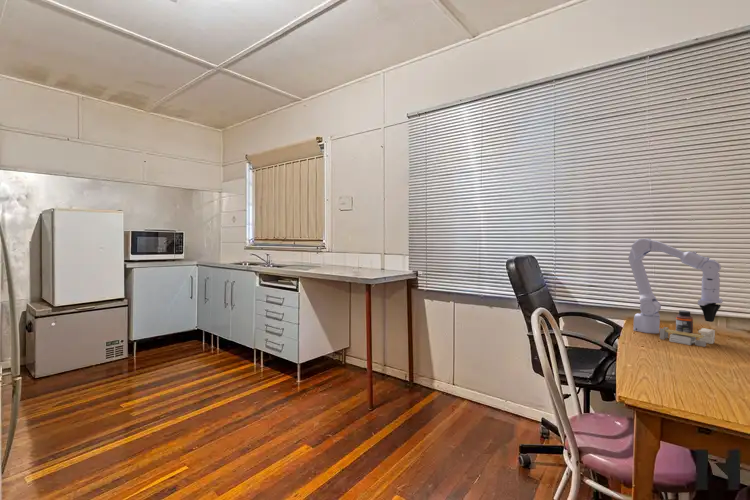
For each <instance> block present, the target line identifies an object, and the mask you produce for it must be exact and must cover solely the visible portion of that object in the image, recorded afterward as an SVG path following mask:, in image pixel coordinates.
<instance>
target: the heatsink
mask: <svg viewBox="0 0 750 500" xmlns="http://www.w3.org/2000/svg"><path fill="white" fill-rule="evenodd" d="M696 338H697V337H692V336H686V335H680V334H674V333H669V337H668V339H669V342H671V343H676V344H682V345H687V346H691V345H695V340H697V339H696Z"/></svg>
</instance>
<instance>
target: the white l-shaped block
mask: <svg viewBox="0 0 750 500" xmlns="http://www.w3.org/2000/svg"><path fill="white" fill-rule="evenodd" d="M715 333H716V330H715V329H709V328H705V327H704V328H703V327H701V328H700V329H699V330H698V331H697V334H700V335H704V337H703V338H699V340H701V341H706V344H710V345H713V344H715V335H716V334H715Z"/></svg>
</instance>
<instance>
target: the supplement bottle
mask: <svg viewBox="0 0 750 500" xmlns="http://www.w3.org/2000/svg"><path fill="white" fill-rule="evenodd" d="M675 331H681V332H687V333H693V331H694V318H693V316H692V315H691V311H689V310H683V309H681V310H680V309H679V311H678V314H677V315H676V317H675ZM693 334H694V333H693Z"/></svg>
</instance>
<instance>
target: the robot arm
mask: <svg viewBox="0 0 750 500" xmlns="http://www.w3.org/2000/svg"><path fill="white" fill-rule="evenodd" d="M650 252H662V253H664V254H667V255H670V256H672V257H675V258H678V259H680V261H681V263H682V264H684V265H687V266H689V267H690V268H691V267H692V268H694V269H696V270H698V271H699V270H701V272H702V277H701V292H700V296H701V297H700V299H699V300H697V305H698V306H699V308H700V310H701V311H702V314H703V317H704V321H705V322H710V323H713V322H715V318H716V315H717V313H718V311H719V310H720V309H721V307H722V306H721V304H723V302H724V301H723V299H722V298H720V293H721V292H720V291H721V290H720V285H721V284H720V283H721V278H720V277H721V275H720V274H721V273H720V271H721V269H722V266H721V264H720V262H719V261H717V260H715V259H711V257H709V256H706V257H705V256H703V255H700V254H699V253H698V252H697V251H695V250H693V251H690V250H688V251H683V250H680V249H677V248H676V247H674V246H671V245H668V244H666V243H664V242H662V241H658V240H656V239H655V240H654V239H651V238H647V237H645V238H643V237H642V238H638V239H636V240H635V241H634V242H633V243H632V245H631V247H630V252H629V254H628V262H629V266H630V268H631V272H632V275H633V278H634V281H635V283H636V286H637V291H638V293H639V302H640V305H639V310H640V313H639V312H638V313H635V314H634V317H633V328H632V330H633V332H635V331H636V332H641V333H645V334H660V323H661V322H660V321H661V319H660V318H661V315H660V313H659V312H660V311H661V308H662V306H661V303H660V301H658V300H657V297H656V296H655V294H654V292H653V289H652V287H651V284H650V280H649V278H648V274H647V271H646V268H645V265H644V262H643V259H644V258H645V257H646V255H647V254H649V253H650ZM697 253H698V254H697Z"/></svg>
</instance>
